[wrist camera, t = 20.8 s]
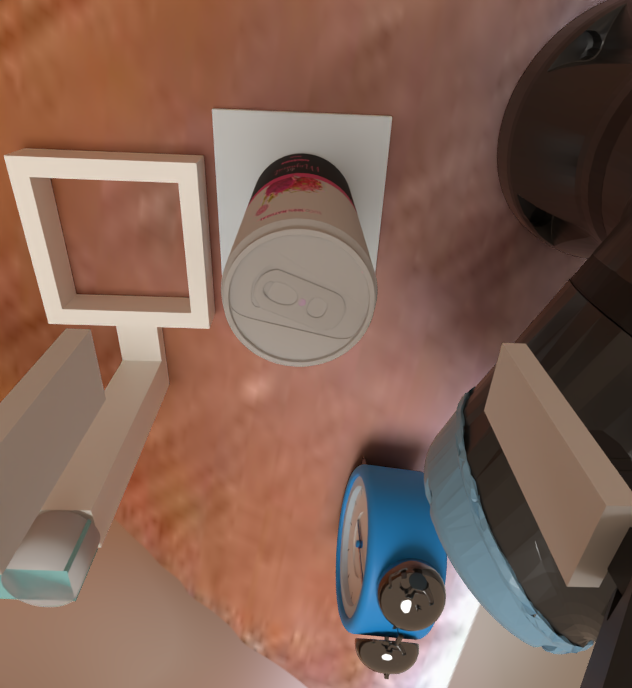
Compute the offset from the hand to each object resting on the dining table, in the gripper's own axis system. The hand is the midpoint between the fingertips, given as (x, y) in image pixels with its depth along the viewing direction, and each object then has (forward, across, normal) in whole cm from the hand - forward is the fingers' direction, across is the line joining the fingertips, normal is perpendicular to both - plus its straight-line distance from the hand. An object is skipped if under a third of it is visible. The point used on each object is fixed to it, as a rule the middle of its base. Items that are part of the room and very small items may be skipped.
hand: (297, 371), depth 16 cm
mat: (+20, 0, 0) cm, 20 cm away
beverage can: (+20, 0, 0) cm, 20 cm away
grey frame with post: (+20, +12, +6) cm, 25 cm away
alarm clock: (+21, -8, +27) cm, 35 cm away
